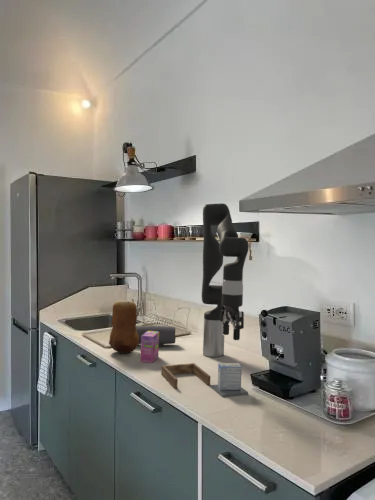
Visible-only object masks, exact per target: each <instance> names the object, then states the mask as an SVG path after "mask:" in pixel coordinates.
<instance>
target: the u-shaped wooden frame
mask: <svg viewBox="0 0 375 500" xmlns="http://www.w3.org/2000/svg"><path fill="white" fill-rule="evenodd" d="M160 373H161V374H160V375H161V376H162V377H163V378H164V379H165V381H167V382H168V384H169V385H170V386H172V388H173V389H174V390H177V389H178V378H177V377H176V376H175V375H181V374H194V375H195V376H196V377H197V378H198V379H199V380H201V382H202V383H204V385H206V386H208V387H209V386H211V375H210V374H209V373H207V372H206V371H205V370H204V369H203V368H201V367H200V366H198V365H197V364H196V363H194V362H192V363H180V364H166V365H161V371H160Z"/></svg>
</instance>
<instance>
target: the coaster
mask: <svg viewBox="0 0 375 500" xmlns="http://www.w3.org/2000/svg"><path fill="white" fill-rule="evenodd" d="M210 388H211V389H212V390H214V392H216V393H218V395H219V396H221V397H222V398H225V397H228V398H229V397H235V396H236V397H237V396H243V395H244V396H245V395H249V391H248V390H246V389H244V388H243V387H242V386H241V390H219V388H218V384H210Z"/></svg>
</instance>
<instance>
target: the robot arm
mask: <svg viewBox="0 0 375 500" xmlns="http://www.w3.org/2000/svg"><path fill="white" fill-rule="evenodd" d="M212 226H217V228H216V233H217V238H218V239H219V241H218V239H217V238H216V236H215V234H214V233H213V231H212ZM202 227H203V228H202V229H203V230H202V231H203V245H202V246H203V247H202V282H201V283H202V286H201V301H202V304H204V305H210V306H211V305H212V306H215V305H216V307H214V308H213V309H211V310H207V311H205V312H204V313H203V337H202V338H203V340H202V355H203V356H205V357H209V358H216V357H217V358H219V357H222V356H225V336H229V335H230V324H231V325H232V328H233V334H232V337H233V338H232V340H234V341H239V340H240V338H241V335H240V334H241V330H243V329H244V327H245V326H244V325H245V320H244V319H245V317H244V316H245V314H244V312H245V311H242V310H241V311H240V307H243V301H244V300H243V299H244V296H243V295H244V294H243V293H244V284H243V280H244V279H243V277H244V273H243V272H244V265H245V263H246V258H247V255H248V251H249V248H250V244H249V242H248V240H247V239H246V238H245V237H239V235H238V234H239V233H238V232H237V231H236V228H235V227H234V224H233V220H232V215H231V211H230V208H229V206H228V205H227V204H226V203H207V204H204V205H203V208H202ZM224 257H227V258H233V257H234V258H236V259H235V260H234V261H233V262H229V263H225V264H224ZM223 264H224V265H223ZM222 266H223V267H222ZM221 268H223V272H222V285H219V284H218V285H217V284H213V285H212V284H211V281H212V279H213V278H214V277H215V276H216V275H217V274H218V272H219V271H220V270H221Z"/></svg>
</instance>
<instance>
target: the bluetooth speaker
mask: <svg viewBox="0 0 375 500" xmlns="http://www.w3.org/2000/svg"><path fill="white" fill-rule="evenodd" d="M136 330H137V333H138V336H139V344H138V345H141V336H142V335H143V334H144V333H146V332H147V331H157V332H159V347H164V345H172V344H173V345H174V344H176V327H175V326H165V325H163V326H161V325H160V326H159V325H139V326H138V325H136Z"/></svg>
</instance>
